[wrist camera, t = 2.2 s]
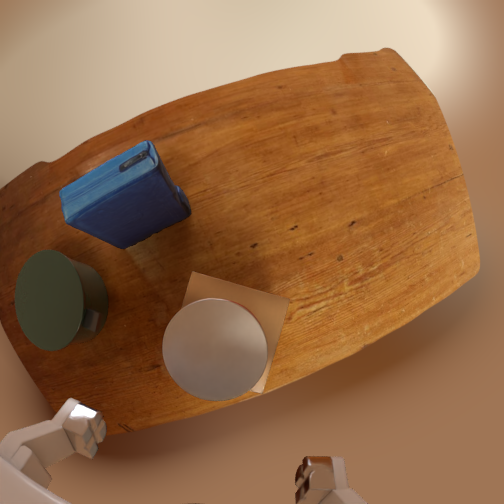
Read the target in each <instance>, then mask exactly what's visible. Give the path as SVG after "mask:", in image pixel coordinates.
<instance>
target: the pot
mask: <svg viewBox="0 0 504 504" xmlns="http://www.w3.org/2000/svg"><path fill="white" fill-rule="evenodd" d="M15 308H16V314H17V318H18V321H19V323H20V326H21V328H22V330H23V332H24V333H25V335H26V336H27V338H28V339H29V340H30V341H31V342H32V343H33V344H35V345H36V346H37V347H39V348H41V349H44V350H47V351H56V350H61V349H63V348H65V347H67V346H68V345H73V344H79V343H84V342H88V341H90V340H92V339H93V338H95V337H96V336H97V335H98V334H99V332H100V331H101V330H102V328H103V326H104V324H105V321H106V318H107V313H108V295H107V291H106V287H105V284H104V282H103V280H102V278H101V277H100V275H99V274H98V273H97V272H96V271H95V270H94V269H93V268H92V267H91V266H89V265H87V264H85V263H82V262H79V261H75V260H72V259H70V258H69V257H67V256H66V255H65V254H63V253H61V252H58V251H55V250H43V251H40V252H38V253H36V254H34V255H33V256H32V257H30V258H29V259H28V261H27V262H26V263H25V264H24V266H23V268H22V270H21V272H20V273H19V275H18V280H17V283H16V289H15Z"/></svg>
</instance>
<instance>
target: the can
mask: <svg viewBox="0 0 504 504" xmlns="http://www.w3.org/2000/svg"><path fill="white" fill-rule="evenodd" d="M162 352H163V358H164V362H165V365H166V368H167V370H168V372H169V374H170V375H171V377H172V378H173V380H174V381H175V382H176V383H177V384H178V385H179V386H180V387H181V388H182V389H183V390H185V391H186V392H188V393H189V394H191V395H193V396H195V397H198V398H200V399H204V400H209V401H225V400H230V399H234V398H236V397H239V396H241V395H243V394H245V393H246V392H248V391H249V390H250V389H251V388H253V387H254V386H255V384H256V383H257V382H258V381H259V379H260V378H261V376H262V374H263V373H264V370H265V368H266V364H267V360H268V344H267V339H266V336H265V333H264V331H263V328H262V326H261V324H260V323H259V321H258V320H257V318H256V317H255V316H254V315H253V313H252V312H251V311H250V310H248V309H247V308H246V307H244V306H243V305H241V304H239V303H236V302H233V301H230V300H225V299H215V298H213V299H203V300H199V301H195V302H193V303H191V304H188V305H187V306H185V307H184V308H182V309H181V310H180V311H179V312H177V313H176V314H175V316H174V317H173V318H172V319H171V321H170V322H169V324H168V326H167V328H166V330H165V333H164V337H163V344H162Z"/></svg>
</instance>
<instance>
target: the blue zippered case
mask: <svg viewBox="0 0 504 504" xmlns="http://www.w3.org/2000/svg"><path fill="white" fill-rule="evenodd" d="M60 198H61V203H62V212H63V214H64V218H65V222H66V224H68V225H70V226H72V227H74V228H76V229H79V230H82V231H84V232H86V233H88V234H90V235H92V236H94V237H97V238H99V239H101V240H103V241H105V242H107V243H109V244H111V245H113V246H116V247H118V248H120V249H125V248H128V247H130V246H133V245H135V244H137V243H138V242H140V241H143V240H145V239H146V238H148V237H150V236H151V235H152V234H154V233H158V232H160V231H161V230H163V229H164V228H167V227H169V226H171V225H173V224H175V223H177V222H180V221H182V220H184V219H186V218H187V217H189V216H190V215H191V209H190V205H189V201H188V199H187V197H186V195H185V194H184V192H183V191H182V190H181V188H180V187H179V186H175V185H174V183H173V182H172V180H171V178H170V176H169V174H168V172H167V171H166V168H165V166H164V164H163V162H162V160H161V158H160V156H159V154H158V152H157V151H156V148H155V147H154V145H153V143H152V142H151V141H143V142H141V143H139V144H137V145H136V146H134V147H132V148H131V149H129V150H127V151H125V152H124V153H122V154H120V155H118V156H116V157H114V158H113V159H111V160H109V161H107V162H106V163H104V164H102V165H100V166H99V167H97V168H95V169H94V170H92V171H91V172H89V173H87V174H86V175H84V176H83V177H81V178H79V179H78V180H76V181H74V182H73V183H71V184H69V185H68V186H66V187H64V188H63V189H62V190H61V191H60Z"/></svg>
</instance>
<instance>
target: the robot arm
mask: <svg viewBox="0 0 504 504" xmlns="http://www.w3.org/2000/svg"><path fill="white" fill-rule="evenodd" d="M103 417H104V416H103V413H102V411H99V410H97V409H95V408H92V407H90V406H88V405H85V404H83V403H81V402H79V401H77V400H75V399H73V398H70V399H68V400H67V401H66V402H65V404H64V405H63V406H62V407H61V409H60V410H59V411H58V413H57V414H56V415H55V417H54V418H53V419H52V420H51V421H50V420H47V421H44V422H41V423H38V424H35V425H31V426H28V427H25V428H22V429H19V430H16V431H12V432H9V433H8V434H7V435H6V436H5V438H4V439H3V440H2V441H1V443H0V504H71V503H69V502H68V501H66V500H64V499H62V498H60V497H59V496H57V495H55V494H54V493H52V492H50V491H49V490H47V487H48V485H49V483H50V482H51V480H52V478H51V476H50V474H49V473H48V472H47V471H46V469H45V468H47V467H49V466H51V465H53V464H55V463H57V462H59V461H61V460H63V459H65V458H67V457H68V456H70V455H72V454H74V453H75V452H78V453H80V454H82V455H84V456H86V457H88V458H90V459H93V457H94V456H95V454H96V452H97V450H98V445H97V444H98V443H100V442H102V441H103V440H104V437H105V435H106V431H107V426H106V423H105V422H104V421H103ZM295 485H296V486H297V487H298V488H299V489H298V490H297V492H296V493H295V498H296V504H368V503H367V502H365V500H363V498H361V497H360V496H359V495H358V494H357V493H356V492H355V491H354V490H353V489H349V485H348V479H347V474H346V467H345V462H344V458H343V457H311V456H306V457H304V459H303V464H302V465H300V466H299V467H298V469H297V472H296V477H295Z"/></svg>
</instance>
